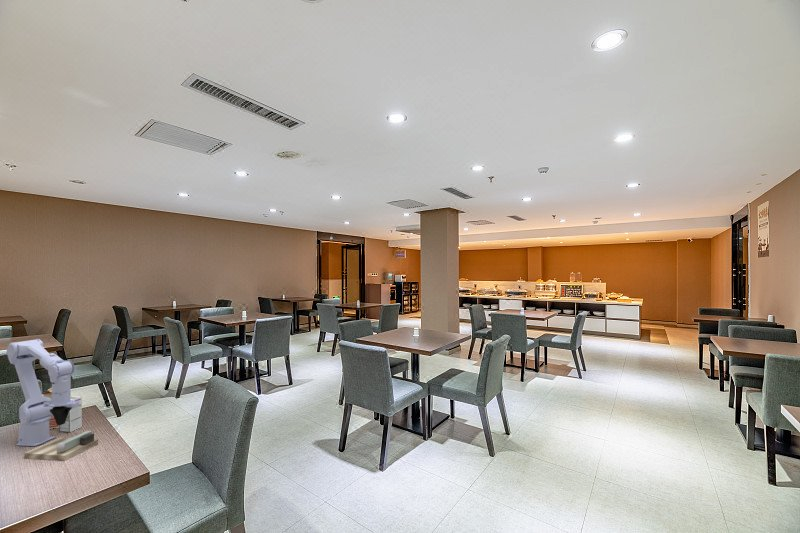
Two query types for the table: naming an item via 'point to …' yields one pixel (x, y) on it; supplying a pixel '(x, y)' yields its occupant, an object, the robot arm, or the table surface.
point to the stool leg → (71, 442)
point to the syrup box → (73, 417)
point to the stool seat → (50, 452)
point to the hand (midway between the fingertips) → (61, 424)
